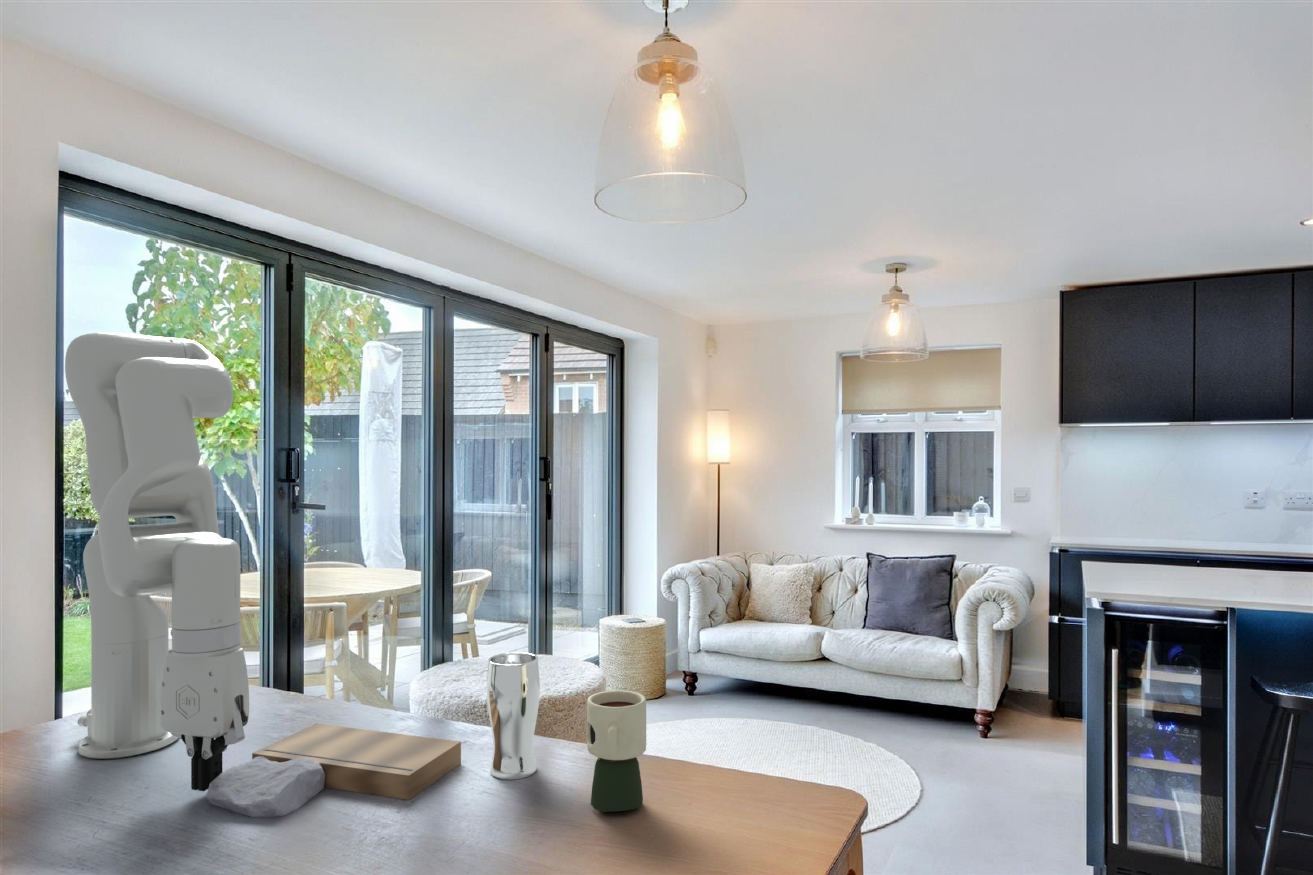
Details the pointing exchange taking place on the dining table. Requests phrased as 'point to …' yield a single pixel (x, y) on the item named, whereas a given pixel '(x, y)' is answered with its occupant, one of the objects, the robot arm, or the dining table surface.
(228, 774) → the stone block
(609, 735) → the character mug
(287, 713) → the dining table surface
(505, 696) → the beer glass
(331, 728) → the brown wooden board
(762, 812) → the dining table surface
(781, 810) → the dining table surface
